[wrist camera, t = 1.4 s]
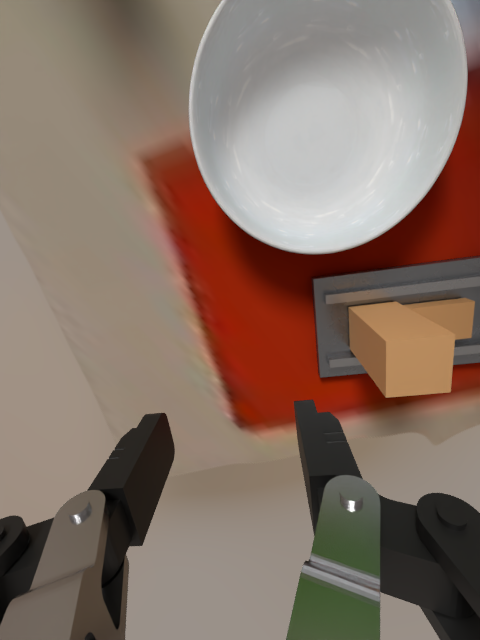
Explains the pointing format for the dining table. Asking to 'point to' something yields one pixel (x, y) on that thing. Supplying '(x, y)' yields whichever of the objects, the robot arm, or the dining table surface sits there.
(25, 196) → the dining table surface
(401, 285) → the rail
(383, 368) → the block
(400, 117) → the serving bowl
